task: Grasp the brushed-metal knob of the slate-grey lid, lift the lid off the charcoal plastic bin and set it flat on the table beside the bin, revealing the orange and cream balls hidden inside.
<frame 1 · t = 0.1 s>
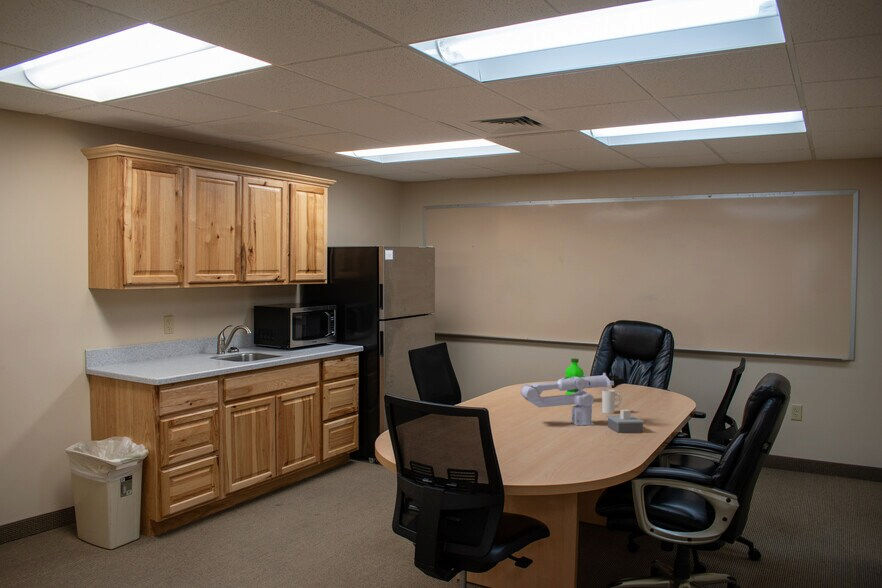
hand: (621, 379, 324), 22 cm above the table, tool horizontal, fingers open, 7 cm apart
mug: (611, 413, 347), on the table
plastic bottle: (573, 402, 374), on the table
cream ball: (627, 423, 313), point 2 cm above the table, touching bin
bin lid: (625, 420, 310), point 4 cm above the table, touching bin
bin: (624, 429, 310), on the table
orange ball: (622, 426, 307), point 2 cm above the table, touching bin
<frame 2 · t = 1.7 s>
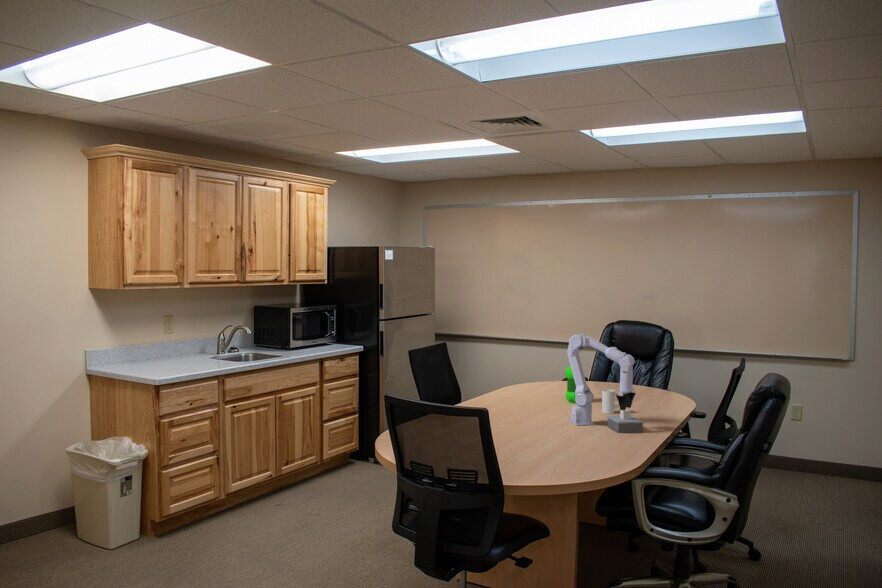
hand: (625, 408, 310), 10 cm above the table, tool pointing down, fingers open, 7 cm apart
nothing on the table moved.
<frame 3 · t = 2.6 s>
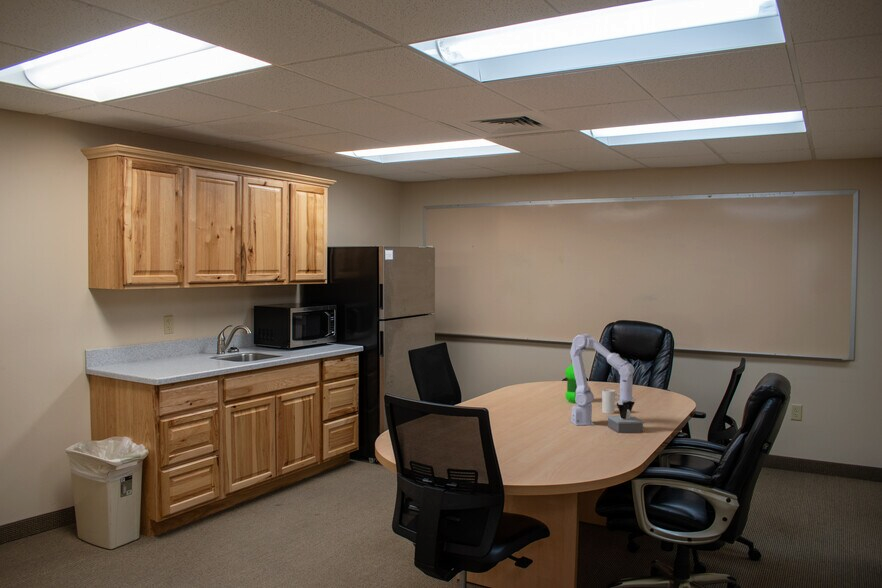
hand: (625, 417, 310), 6 cm above the table, tool pointing down, fingers closed on bin lid, 5 cm apart
bin lid: (625, 420, 310), point 4 cm above the table, touching bin, gripper
everything else where it was.
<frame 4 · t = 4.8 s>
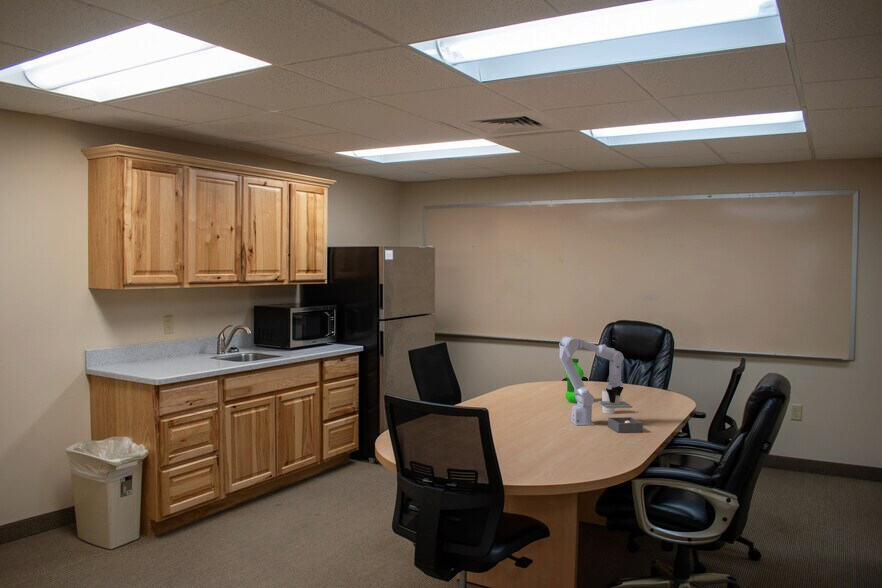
hand: (614, 401, 324), 10 cm above the table, tool pointing down, fingers closed on bin lid, 5 cm apart
bin lid: (614, 405, 324), point 9 cm above the table, touching gripper
everything else where it was.
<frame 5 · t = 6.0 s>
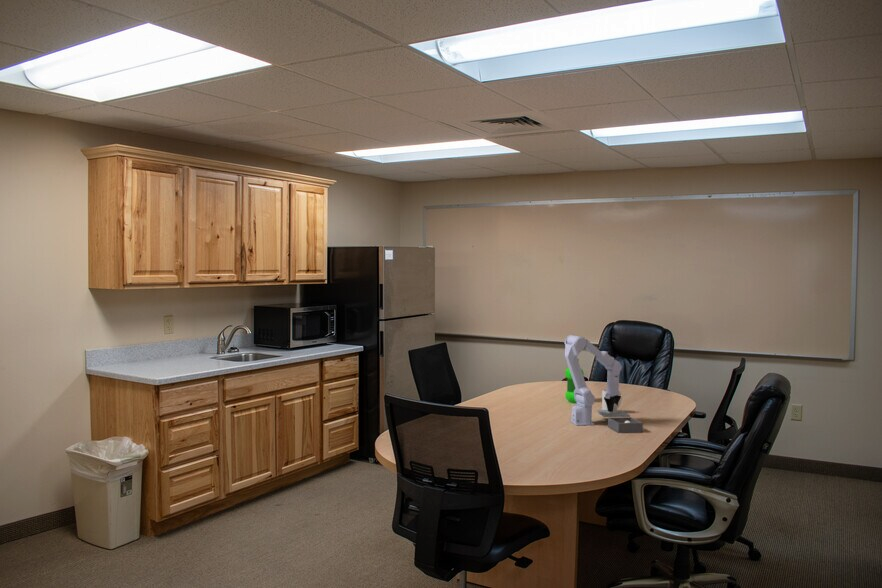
hand: (612, 410, 327), 5 cm above the table, tool pointing down, fingers closed on bin lid, 5 cm apart
bin lid: (612, 414, 327), point 4 cm above the table, touching gripper
everything else where it was.
when the fingers open (3 cm above the table, at t = 7.0 s): bin lid drops 2 cm, on the table.
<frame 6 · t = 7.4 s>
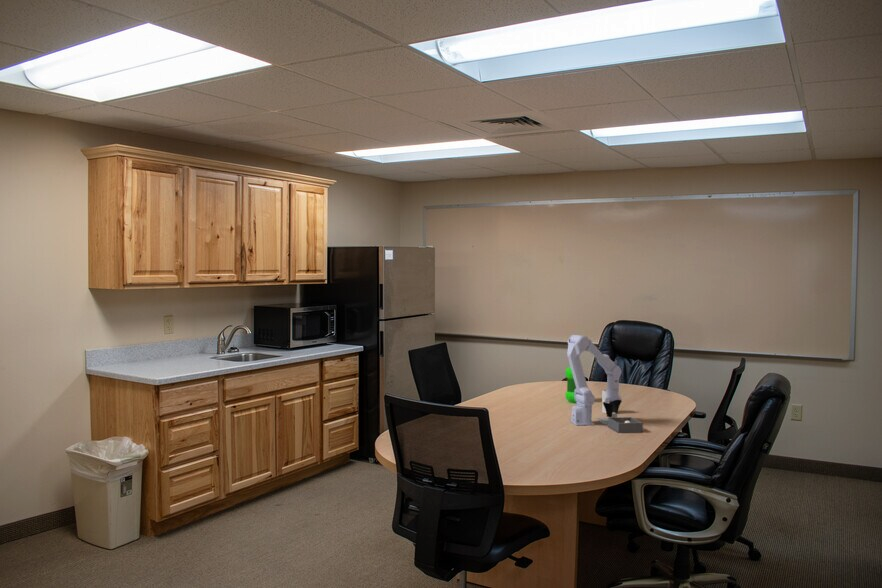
hand: (612, 415, 327), 3 cm above the table, tool pointing down, fingers open, 7 cm apart
bin lid: (612, 422, 327), on the table
everything else where it was.
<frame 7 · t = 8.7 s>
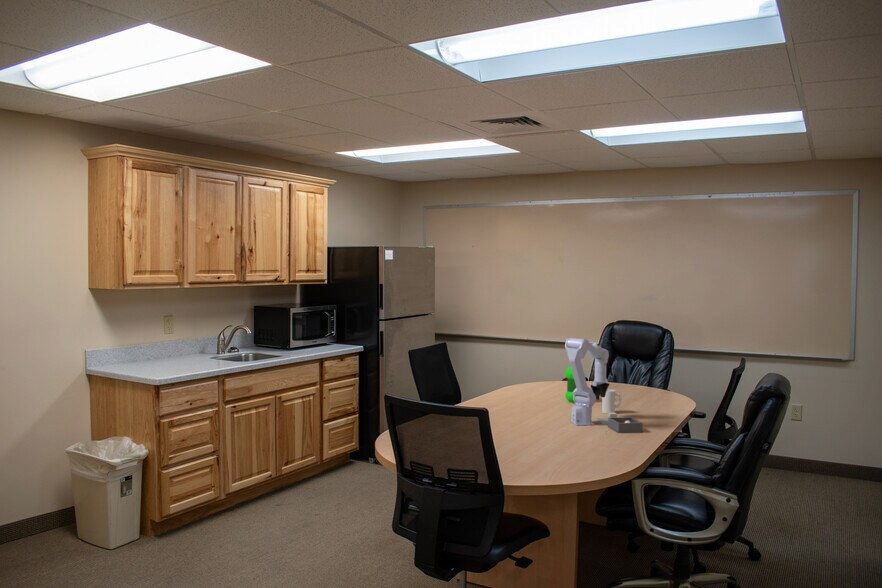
hand: (599, 398, 333), 10 cm above the table, tool pointing down, fingers open, 7 cm apart
nothing on the table moved.
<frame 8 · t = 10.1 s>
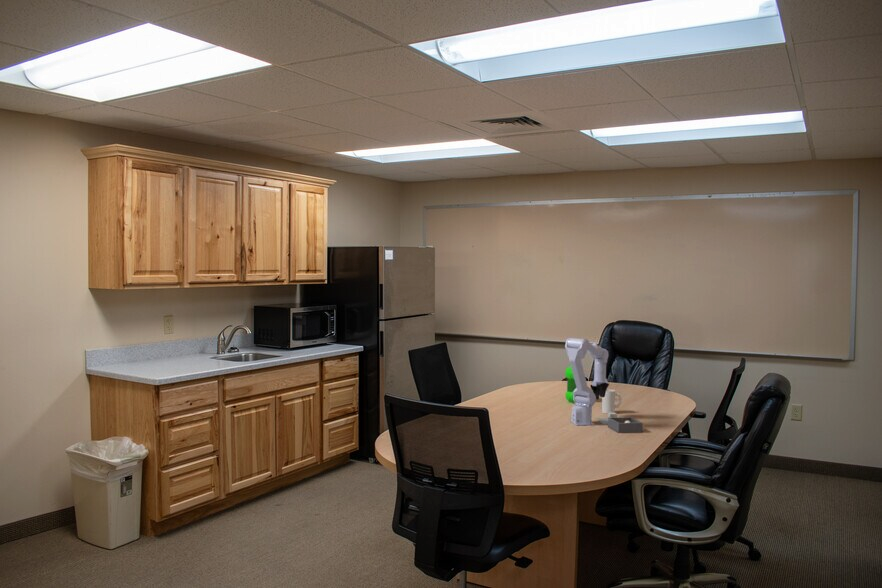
hand: (599, 398, 333), 10 cm above the table, tool pointing down, fingers open, 7 cm apart
nothing on the table moved.
at the end: bin lid inside the target area (0.1 cm from its centre), on the table; bin lid tilted 0°; the gripper is holding nothing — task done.
